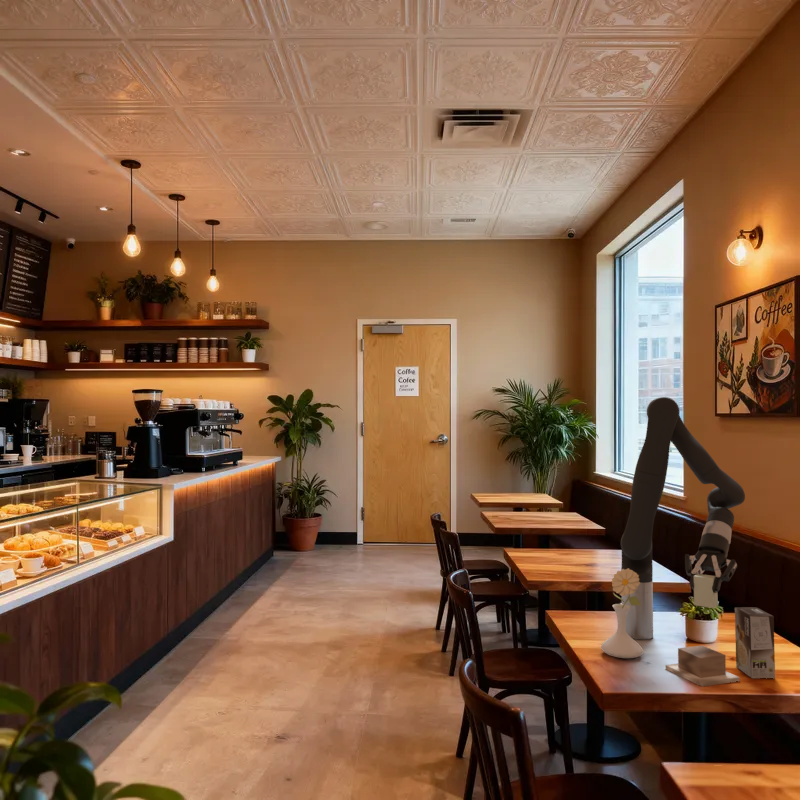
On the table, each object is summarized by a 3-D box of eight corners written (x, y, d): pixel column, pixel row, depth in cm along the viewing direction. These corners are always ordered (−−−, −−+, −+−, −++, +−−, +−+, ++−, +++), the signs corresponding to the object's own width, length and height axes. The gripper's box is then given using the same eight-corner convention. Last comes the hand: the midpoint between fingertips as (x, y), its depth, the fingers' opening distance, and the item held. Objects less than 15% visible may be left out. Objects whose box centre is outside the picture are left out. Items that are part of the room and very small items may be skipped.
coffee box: (776, 679, 170) (775, 616, 171) (751, 678, 170) (750, 615, 171) (758, 666, 179) (757, 606, 180) (734, 666, 180) (733, 606, 180)
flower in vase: (592, 651, 191) (592, 564, 192) (624, 646, 195) (623, 561, 197) (623, 666, 179) (622, 573, 180) (656, 661, 183) (655, 570, 185)
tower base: (665, 668, 177) (665, 646, 178) (701, 664, 181) (701, 641, 181) (701, 686, 165) (701, 662, 165) (739, 681, 169) (739, 657, 169)
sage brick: (694, 605, 184) (693, 576, 184) (698, 602, 187) (698, 573, 187) (713, 608, 180) (712, 578, 181) (717, 605, 183) (717, 576, 184)
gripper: (686, 529, 195) (673, 577, 185) (739, 534, 185) (728, 585, 176) (693, 545, 198) (680, 593, 189) (745, 551, 189) (734, 601, 179)
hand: (703, 589), depth 182 cm, fingers closed on sage brick, 5 cm apart
